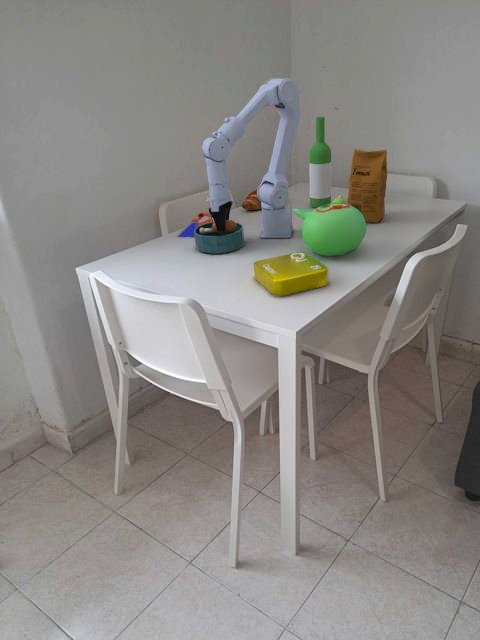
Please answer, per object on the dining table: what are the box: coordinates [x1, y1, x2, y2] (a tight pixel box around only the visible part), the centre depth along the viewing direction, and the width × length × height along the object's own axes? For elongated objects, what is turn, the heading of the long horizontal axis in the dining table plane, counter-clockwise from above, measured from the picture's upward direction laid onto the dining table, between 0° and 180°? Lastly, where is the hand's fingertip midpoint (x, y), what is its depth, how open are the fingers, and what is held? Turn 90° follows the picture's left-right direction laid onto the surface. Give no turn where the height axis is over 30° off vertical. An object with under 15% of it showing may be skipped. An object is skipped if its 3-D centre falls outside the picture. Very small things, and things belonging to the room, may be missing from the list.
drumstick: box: [199, 219, 237, 234], centre depth 149 cm, size 12×4×4 cm, turn 81°
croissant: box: [241, 188, 262, 211], centre depth 187 cm, size 21×10×8 cm, turn 141°
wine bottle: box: [308, 116, 332, 209], centre depth 176 cm, size 8×8×30 cm
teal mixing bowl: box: [194, 221, 245, 255], centre depth 151 cm, size 15×15×6 cm
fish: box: [177, 210, 214, 238], centre depth 166 cm, size 13×5×9 cm
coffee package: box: [346, 148, 388, 224], centre depth 161 cm, size 10×12×22 cm
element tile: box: [253, 251, 329, 297], centre depth 125 cm, size 15×15×5 cm
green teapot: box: [292, 194, 367, 257], centre depth 137 cm, size 18×17×15 cm
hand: (223, 228), depth 149 cm, fingers closed on drumstick, 4 cm apart
